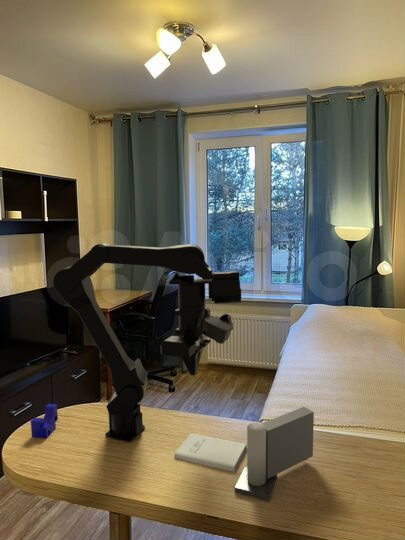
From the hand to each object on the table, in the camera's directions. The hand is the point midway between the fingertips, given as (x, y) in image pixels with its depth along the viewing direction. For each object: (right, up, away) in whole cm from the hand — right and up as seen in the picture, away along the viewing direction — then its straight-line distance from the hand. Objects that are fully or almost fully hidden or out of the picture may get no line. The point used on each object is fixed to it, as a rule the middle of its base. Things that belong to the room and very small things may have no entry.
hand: (193, 374), depth 88 cm
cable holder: (-33, -14, +4) cm, 36 cm away
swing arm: (+16, -14, -14) cm, 25 cm away
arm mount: (+11, -15, -17) cm, 25 cm away
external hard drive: (+4, -15, -6) cm, 17 cm away
